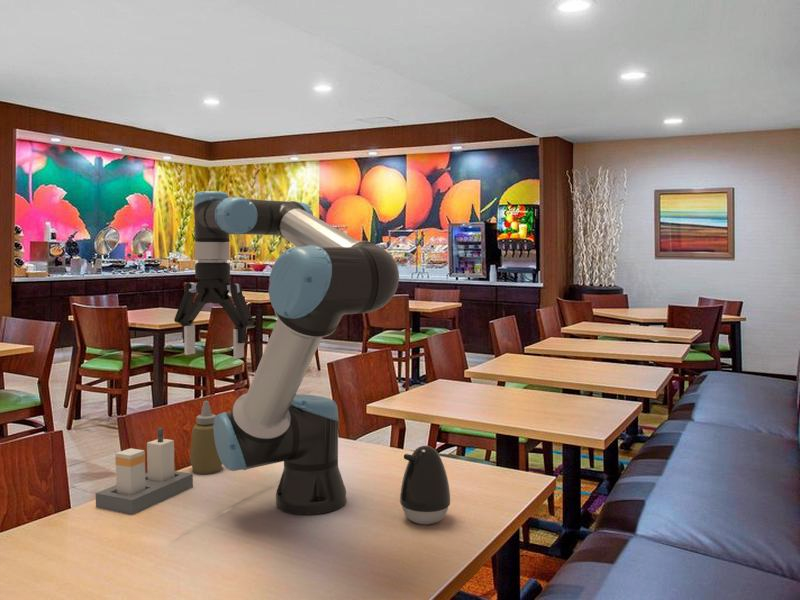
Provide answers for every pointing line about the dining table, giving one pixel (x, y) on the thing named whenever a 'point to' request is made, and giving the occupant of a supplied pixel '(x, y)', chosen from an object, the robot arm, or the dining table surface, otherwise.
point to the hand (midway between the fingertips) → (213, 356)
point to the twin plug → (160, 458)
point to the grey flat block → (144, 494)
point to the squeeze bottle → (204, 443)
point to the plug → (130, 471)
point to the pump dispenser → (425, 487)
